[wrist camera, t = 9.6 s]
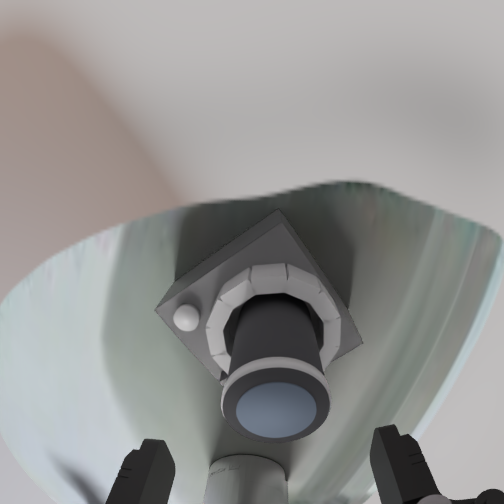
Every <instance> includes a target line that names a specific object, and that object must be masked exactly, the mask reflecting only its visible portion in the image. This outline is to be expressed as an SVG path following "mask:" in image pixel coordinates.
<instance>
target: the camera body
mask: <svg viewBox="0 0 504 504" xmlns="http://www.w3.org/2000/svg"><path fill="white" fill-rule="evenodd" d="M272 293H287V294H289V295H292V296H294V297H296V298H299V299H301V300H303V301H304V303H305V304H306V305H307V307H308V309H309V312H310V316H311V320H312V324H313V328H314V333H315V337H316V341H317V346H318V350H319V354H320V359H321V363H322V368H323V371H324V370H325V368H326V367H327V366H328V364H329V363H331V362H332V361H334V360H336V359H338V358H339V357H341V356H343V355H344V354H346V353H348V352H350V351H351V350H353V349H355V348H356V347H358V346H359V345H361V344H363V341H362V339H361V337H360V334H359V332H358V330H357V328H356V326H355V324H354V321H353V319H352V317H351V315H350V313H349V311H348V309H347V308H346V306H345V305H344V303H343V302H342V300H341V298H340V297H339V295H338V294H337V292H336V291H335V289H334V288H333V286H332V285H331V283H330V282H329V280H328V279H327V277H326V276H325V274H324V273H323V271H322V270H321V268H320V267H319V265H318V264H317V263H316V261H315V260H314V258H313V257H312V255H311V254H310V252H309V251H308V249H307V248H306V246H305V245H304V243H303V242H302V241H301V239H300V238H299V236H298V235H297V233H296V232H295V230H294V229H293V228H292V226H291V225H290V223H289V222H288V220H287V219H286V218H285V216H284V215H283V213H282V212H281V211H280V209H277V210H276V211H274V212H273V213H272V214H270V215H269V216H267V217H266V218H264V219H263V220H261V221H260V222H259V223H257V224H256V225H254V226H253V227H251V228H250V229H248V230H247V231H246V232H244V233H243V234H241V235H240V236H238V237H237V238H236V239H234V240H233V241H231V242H230V243H228V244H227V245H226V246H224V247H223V248H221V249H220V250H219V251H217V252H216V253H214V254H213V255H211V256H210V257H209V258H207V259H206V260H204V261H203V262H202V263H200V264H199V265H197V266H196V267H195V268H193V269H192V270H190V271H189V272H187V273H186V274H185V275H183V276H182V277H180V278H179V279H178V280H176V281H175V282H174V283H173V284H172V286H171V287H170V289H169V290H168V291H167V293H166V294H165V296H164V297H163V299H162V300H161V301H160V303H159V304H158V306H157V307H156V309H155V311H156V313H157V314H158V315H159V316H160V317H161V318H162V320H163V321H164V322H165V323H166V324H167V325H168V327H169V328H170V329H171V330H172V331H173V332H174V333H175V335H176V336H177V337H178V338H179V339H180V340H181V341H182V342H183V343H184V345H185V346H186V347H187V348H188V349H189V350H190V351H191V352H192V353H193V354H194V355H195V356H196V358H197V359H198V360H199V361H200V362H201V363H202V364H203V365H204V366H205V367H206V368H207V369H208V370H209V371H210V372H211V373H212V374H213V375H214V376H215V377H216V379H217V380H218V381H219V383H220V384H221V385H222V386H223V387H224V385H225V383H226V381H227V378H228V372H229V367H230V362H231V356H232V351H233V345H234V340H235V334H236V329H237V324H238V318H239V314H240V311H241V308H242V307H243V305H244V304H245V303H246V301H247V300H248V299H250V298H251V297H253V296H255V295H259V294H272Z"/></svg>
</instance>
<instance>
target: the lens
mask: <svg viewBox="0 0 504 504" xmlns="http://www.w3.org/2000/svg"><path fill="white" fill-rule="evenodd" d="M331 404H332V398H331V394H330V389H329V385H328V382H327V380H326V378H325V377H324V372H323V368H322V363H321V359H320V354H319V350H318V346H317V341H316V337H315V333H314V328H313V324H312V320H311V316H310V312H309V309H308V307H307V305H306V304H305V303H304V301H303V300H301V299H299V298H296V297H294V296H292V295H289V294H287V293H272V294H259V295H255V296H253V297H251V298H250V299H248V300H247V301H246V303H245V304H244V305H243V307H242V308H241V311H240V314H239V318H238V324H237V329H236V334H235V340H234V345H233V351H232V356H231V362H230V367H229V372H228V378H227V381H226V383H225V385H224V388H223V392H222V397H221V410H222V413H223V415H224V417H225V419H226V421H227V422H228V424H229V425H230V426H231V427H232V428H233V429H234V430H235V431H236V432H238V433H239V434H241V435H243V436H245V437H247V438H249V439H252V440H255V441H259V442H265V443H284V442H290V441H294V440H298V439H300V438H303V437H305V436H307V435H309V434H311V433H312V432H314V431H315V430H316V429H318V428H319V427H320V426H321V425H322V424H323V422H324V421H325V420H326V418H327V416H328V414H329V412H330V409H331Z"/></svg>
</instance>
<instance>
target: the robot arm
mask: <svg viewBox="0 0 504 504" xmlns="http://www.w3.org/2000/svg"><path fill="white" fill-rule="evenodd" d="M370 463H371V467H372V471H373V474H374V478H375V481H376V485H377V489H378V492H379V496H380V500H381V503H382V504H504V493H503V492H502V491H500V490H498V489H489V490H486V491H484V492H482V493H481V494H480V495H479V496H478V497H477V498H474V499H466V500H451V499H448V498H447V497H445V496H443V495H442V494H441V493H440V492H439V490H438V488H437V486H436V484H435V481H434V479H433V476H432V474H431V472H430V469H429V467H428V465H427V463H426V462H425V458H424V456H423V454H422V451H421V449H420V447H419V445H418V442H417V441H416V440H415V439H414V438H412V437H411V436H410V435H409V434H406V435H402V436H400V434H399V432H398V430H397V427H396V426H395V425H394V424H393V425H388V426H383V427H379V428H375V430H374V435H373V440H372V444H371V449H370ZM174 477H175V463H174V460H173V458H172V456H171V454H170V451H169V449H168V447H167V445H166V443H165V441H164V440H156V439H144V441H143V442H142V445H141V447H140V450H134V449H133V450H132V451H131V452H130V453H129V454H128V455H127V456H126V457H125V459H124V461H123V463H122V466H121V469H120V470H119V473H118V477H116V480H115V482H114V484H113V487H112V489H111V492H110V494H109V496H108V499H107V501H106V503H105V504H167V503H168V499H169V495H170V491H171V488H172V484H173V480H174ZM203 504H288V482H286V481H285V472H284V470H283V468H282V467H281V466H280V465H279V464H277V463H276V462H274V461H272V460H269V459H266V458H263V457H259V456H252V455H234V456H228V457H224V458H221V459H219V460H217V461H215V462H214V463H213V464H212V465H211V466H210V470H209V475H208V480H207V485H206V490H205V495H204V500H203Z"/></svg>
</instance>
